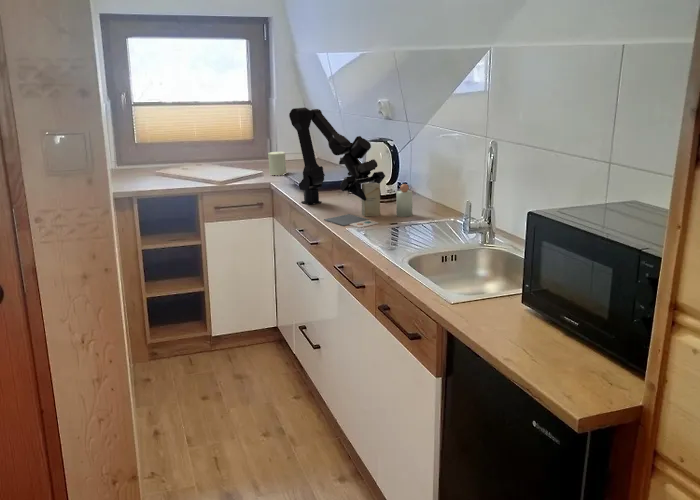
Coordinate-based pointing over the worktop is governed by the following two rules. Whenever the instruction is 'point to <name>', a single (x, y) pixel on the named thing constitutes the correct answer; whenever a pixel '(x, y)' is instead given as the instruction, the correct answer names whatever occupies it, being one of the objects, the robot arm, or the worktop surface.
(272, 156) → the can
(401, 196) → the perfume bottle
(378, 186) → the skincare box
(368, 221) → the card
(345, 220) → the mat
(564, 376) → the worktop surface
